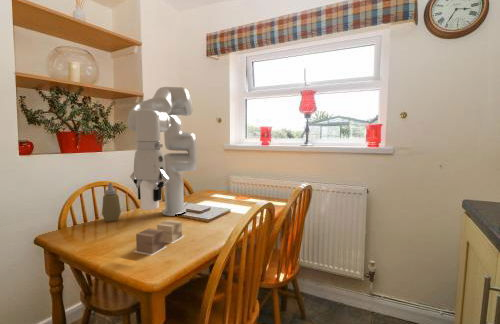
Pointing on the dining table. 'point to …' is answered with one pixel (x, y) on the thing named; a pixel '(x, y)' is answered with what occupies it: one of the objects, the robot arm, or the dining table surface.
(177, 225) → the oak block
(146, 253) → the build board
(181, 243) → the dining table surface
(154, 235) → the walnut block
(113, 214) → the squeeze bottle
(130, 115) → the robot arm
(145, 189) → the white bottle
